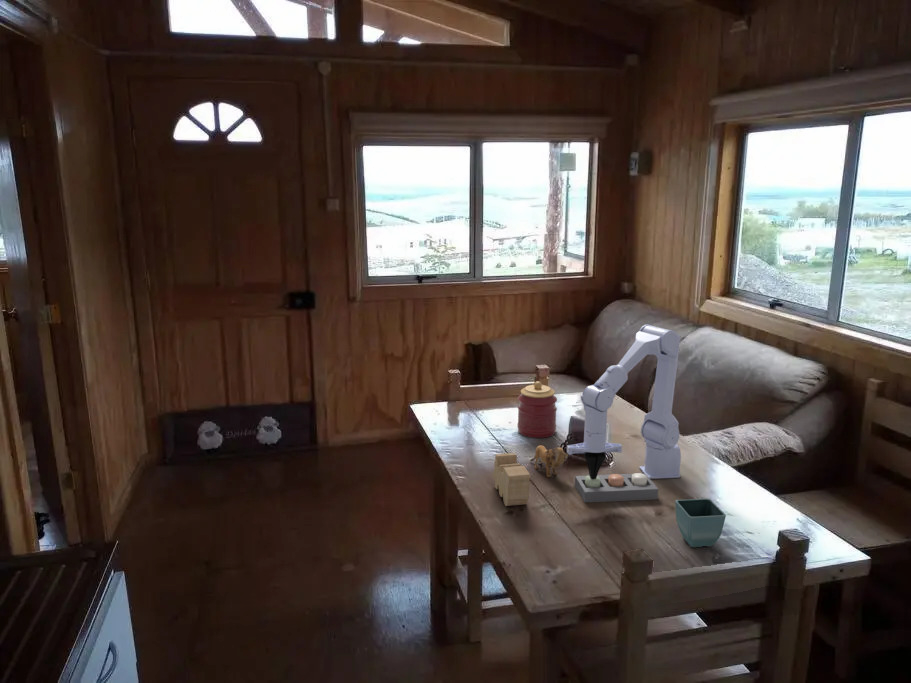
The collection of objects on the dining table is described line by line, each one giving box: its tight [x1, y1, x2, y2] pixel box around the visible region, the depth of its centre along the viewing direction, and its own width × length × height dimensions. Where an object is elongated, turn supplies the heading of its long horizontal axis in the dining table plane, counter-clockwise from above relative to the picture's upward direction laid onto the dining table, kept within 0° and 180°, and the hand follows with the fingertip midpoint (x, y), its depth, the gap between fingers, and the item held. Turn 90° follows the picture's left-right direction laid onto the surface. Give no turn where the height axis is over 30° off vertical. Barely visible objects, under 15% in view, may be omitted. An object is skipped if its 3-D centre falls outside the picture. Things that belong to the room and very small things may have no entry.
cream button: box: [631, 472, 647, 486], centre depth 188 cm, size 4×4×3 cm
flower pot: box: [674, 498, 727, 548], centre depth 162 cm, size 9×9×9 cm
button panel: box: [574, 472, 659, 503], centre depth 187 cm, size 20×10×3 cm, turn 95°
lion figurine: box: [529, 445, 569, 478], centre depth 201 cm, size 15×5×9 cm, turn 34°
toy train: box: [492, 452, 531, 507], centre depth 185 cm, size 6×17×10 cm, turn 11°
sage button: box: [585, 474, 600, 488], centre depth 186 cm, size 4×4×3 cm
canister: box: [516, 380, 558, 439], centre depth 230 cm, size 13×13×18 cm
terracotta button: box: [608, 473, 624, 487], centre depth 187 cm, size 4×4×3 cm
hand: (592, 477), depth 186 cm, fingers closed
